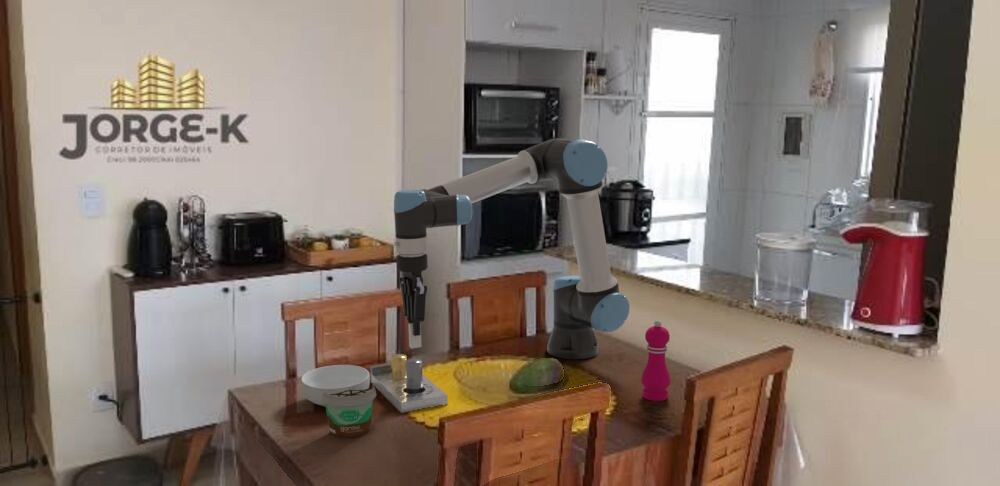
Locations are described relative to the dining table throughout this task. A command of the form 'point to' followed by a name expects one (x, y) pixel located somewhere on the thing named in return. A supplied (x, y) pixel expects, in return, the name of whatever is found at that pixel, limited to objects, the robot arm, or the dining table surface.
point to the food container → (349, 412)
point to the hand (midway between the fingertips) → (415, 346)
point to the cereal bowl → (333, 381)
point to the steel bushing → (414, 376)
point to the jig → (404, 386)
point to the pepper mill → (656, 364)
